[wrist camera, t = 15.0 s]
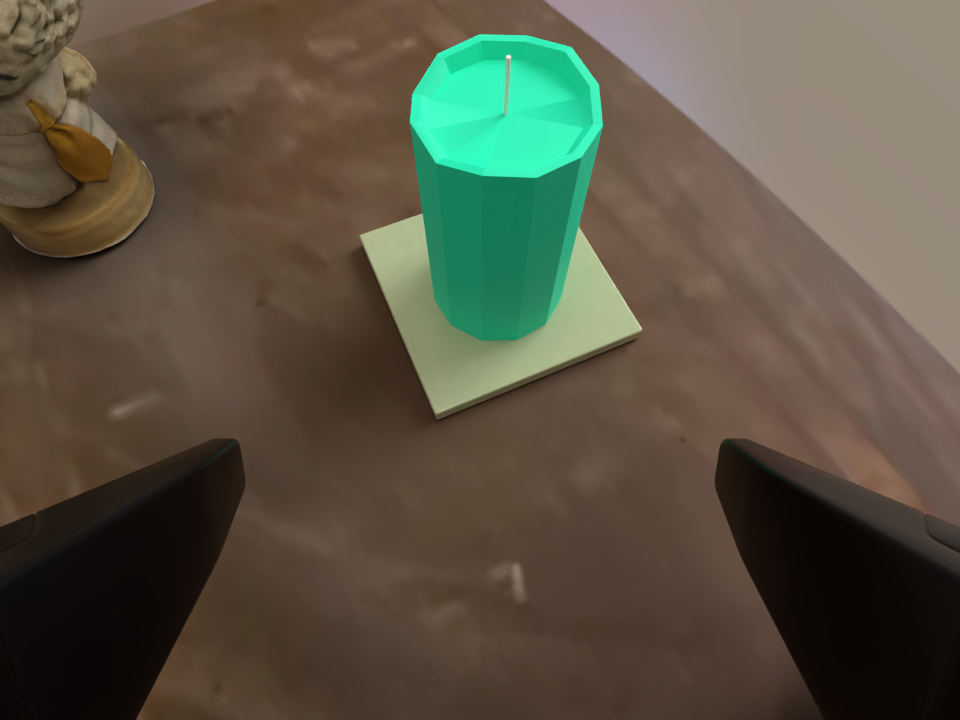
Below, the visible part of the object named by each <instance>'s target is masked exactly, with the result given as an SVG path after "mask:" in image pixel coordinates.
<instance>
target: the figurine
mask: <svg viewBox="0 0 960 720" xmlns="http://www.w3.org/2000/svg"><path fill="white" fill-rule="evenodd" d="M83 8H84V0H0V223H1V224H2V225H3V226H5V227H6V228H7V229H8V230H9V231H10V232H11V233H12V235H13V237H14V238H15V240H16V241H17V242H18V243H20V244H21V245H22V246H23V247H24V248H26V249H28V250H30V251H32V252H34V253H37V254H41V255H45V256H50V257H65V258H68V257H74V256H81V255H86V254H90V253H95V252H98V251H100V250H103V249H105V248H108V247H110V246H112V245H114V244H117V243H118V242H120V241H122V240H123V239H125V238H126V237H128V236H129V235H130V234H131V233H132V232H133V231H134V230H135V229H136V227H137V226H138V225H139V224H140V223H141V222H142V221H143V220H144V218H145V217H146V216H147V215H148V213H149V210H150V208H151V206H152V202H153V198H154V193H155V190H154V184H153V178H152V175H151V173H150V172H149V170H148V168H147V167H146V165H145V164H144V162H143V161H142V160H140V159H139V157H138V155H137V154H136V153H135V151H134V150H133V149H132V148H131V147H130V146H129V145H128V144H127V143H126V142H125V141H124V140H122V139H121V138H120V137H118V136H117V133H116V132H115V131H114V130H113V129H112V128H111V127H110V126H109V125H108V124H106V122H104V120H103V119H102V118H101V117H100V116H99V115H98V114H97V113H96V112H95V111H93V110H92V109H91V108H90V107H89V105H88V101H87V97H88V96H89V95H90V94H91V92H92V90H93V88H94V87H95V85H96V82H97V80H96V79H97V74H96V72H95V70H94V68H93V67H92V65H91V64H90V63H89V61H87V60H86V58H84V57H83V56H81V55H80V54H78V53H77V52H76V51H74V50H72V49H69V48H66V47H65V46H66V45H67V44H68V43H69V42H70V41H71V40H72V37H73V35H74V32H75V31H76V30H77V28H78V26H79V23H80V17H81V14H82V10H83Z"/></svg>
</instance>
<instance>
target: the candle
mask: <svg viewBox="0 0 960 720" xmlns="http://www.w3.org/2000/svg"><path fill="white" fill-rule="evenodd" d="M410 126H411V133H412V141H413V148H414V155H415V162H416V170H417V177H418V184H419V191H420V198H421V206H422V213H423V220H424V227H425V235H426V242H427V249H428V256H429V264H430V271H431V278H432V285H433V293H434V300H435V301H436V303H437V304H438V306H439V307H440V309H441V310H442V312H443V313H444V315H445V317H446V318H447V320H448V321H449V323H450V324H451V326H453V327H455V328H457V329H459V330H461V331H463V332H465V333H467V334H469V335H471V336H473V337H475V338H477V339H479V340H481V341H493V340H518V339H520V338H522V337H523V336H525V335H527V334H529V333H531V332H533V331H535V330H536V329H538V328H540V327H542V326H544V325H546V323H547V322H548V320H549V318H550V317H551V315H552V313H553V311H554V310H555V308H556V306H557V304H558V303H559V301H560V299H561V297H562V293H563V289H564V284H565V280H566V276H567V272H568V268H569V264H570V260H571V255H572V251H573V247H574V243H575V239H576V235H577V231H578V226H579V222H580V218H581V214H582V210H583V206H584V202H585V198H586V193H587V189H588V185H589V181H590V177H591V173H592V169H593V164H594V160H595V156H596V152H597V148H598V144H599V140H600V136H601V131H602V127H603V123H602V112H601V102H600V92H599V84H598V83H597V81H596V80H595V79H594V77H593V76H592V75H591V73H590V72H589V70H588V69H587V68H586V66H585V65H584V64H583V62H582V61H581V60H580V58H579V57H578V55H577V54H576V53H575V51H574V50H573V49H572V47H569V46H565V45H561V44H557V43H553V42H550V41H546V40H542V39H538V38H534V37H531V36H522V35H481V34H479V35H477V36H475V37H473V38H471V39H469V40H466V41H464V42H462V43H460V44H458V45H456V46H454V47H451V48H449V49H447V50H445V51H443V52H441V53H438V54H437V56H436V57H435V59H434V60H433V62H432V64H431V65H430V67H429V68H428V70H427V72H426V73H425V75H424V76H423V78H422V80H421V81H420V83H419V85H418V86H417V88H416V89H415V91H414V93H413V97H412V107H411V117H410Z"/></svg>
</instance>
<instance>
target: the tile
mask: <svg viewBox="0 0 960 720" xmlns="http://www.w3.org/2000/svg"><path fill="white" fill-rule="evenodd" d="M359 238H360V241H361V244H362V247H363V249H364V251H365V254H366V256H367V258H368V261H369V263H370V265H371V268H372V270H373V273H374V275H375V277H376V280H377V282H378V284H379V287H380V289H381V291H382V294H383V296H384V298H385V301H386V303H387V305H388V308H389V310H390V312H391V315H392V317H393V319H394V322H395V324H396V327H397V329H398V331H399V334H400V336H401V338H402V341H403V343H404V345H405V348H406V350H407V352H408V355H409V357H410V359H411V362H412V364H413V366H414V369H415V371H416V373H417V376H418V378H419V381H420V383H421V385H422V388H423V390H424V392H425V395H426V397H427V399H428V402H429V404H430V406H431V409H432V411H433V413H434V416H435V418H436V419H437V420H439V419H441V418H444V417H446V416H448V415H451V414H453V413H456V412H458V411H461V410H463V409H466V408H468V407H470V406H473V405H475V404H478V403H480V402H483V401H485V400H488V399H490V398H492V397H495V396H497V395H500V394H502V393H505V392H507V391H510V390H512V389H514V388H517V387H519V386H522V385H524V384H527V383H529V382H532V381H534V380H536V379H539V378H541V377H544V376H546V375H549V374H551V373H554V372H556V371H558V370H561V369H563V368H566V367H568V366H571V365H573V364H576V363H578V362H580V361H583V360H585V359H588V358H590V357H593V356H595V355H598V354H600V353H602V352H605V351H607V350H610V349H612V348H615V347H617V346H620V345H622V344H624V343H627V342H629V341H632V340H634V339H637V338H638V337H639V336H640V334H641V332H642V328H641V327H640V325H639V323H638V322H637V320H636V319H635V317H634V315H633V314H632V312H631V310H630V309H629V307H628V306H627V304H626V302H625V301H624V299H623V298H622V296H621V294H620V293H619V291H618V289H617V288H616V286H615V285H614V283H613V281H612V280H611V278H610V277H609V275H608V273H607V272H606V270H605V268H604V267H603V265H602V264H601V262H600V260H599V259H598V257H597V255H596V254H595V252H594V251H593V249H592V247H591V246H590V244H589V243H588V241H587V239H586V238H585V236H584V234H583V233H582V231H581V230H580V228H579V226H578V231H577V235H576V239H575V243H574V247H573V251H572V255H571V260H570V264H569V268H568V272H567V276H566V280H565V284H564V289H563V293H562V297H561V299H560V301H559V303H558V304H557V306H556V308H555V310H554V311H553V313H552V315H551V317H550V318H549V320H548V322H547V323H546V325H544V326H542V327H540V328H538V329H536V330H535V331H533V332H531V333H529V334H527V335H525V336H523V337H522V338H520V339H518V340H493V341H481V340H479V339H477V338H475V337H473V336H471V335H469V334H467V333H465V332H463V331H461V330H459V329H457V328H455V327H453V326H451V324H450V323H449V321H448V320H447V318H446V317H445V315H444V313H443V312H442V310H441V309H440V307H439V306H438V304H437V303H436V301H435V300H434V293H433V285H432V278H431V271H430V264H429V256H428V249H427V242H426V235H425V227H424V220H423V213H422V214H420V215H417V216H414V217H411V218H408V219H405V220H402V221H399V222H396V223H394V224H391V225H388V226H385V227H382V228H379V229H376V230H373V231H370V232H367V233H365V234H362V235H360V236H359Z"/></svg>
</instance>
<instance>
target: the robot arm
mask: <svg viewBox="0 0 960 720" xmlns="http://www.w3.org/2000/svg"><path fill="white" fill-rule="evenodd" d="M244 488H245V474H244V468H243V462H242V455H241V449H240V445H239V443H238V441H237V440H235V439H212V440H210V441H207V442H205V443H202V444H200V445H198V446H195V447H193V448H190V449H188V450H186V451H183V452H181V453H178V454H176V455H174V456H171V457H169V458H166V459H164V460H161V461H159V462H157V463H154V464H152V465H149V466H147V467H145V468H142V469H140V470H137V471H135V472H132V473H130V474H128V475H125V476H123V477H120V478H118V479H116V480H113V481H111V482H108V483H106V484H104V485H101V486H99V487H96V488H94V489H91V490H89V491H87V492H84V493H82V494H79V495H77V496H75V497H72V498H70V499H67V500H65V501H63V502H60V503H58V504H55V505H53V506H50V507H48V508H46V509H43V510H41V511H38V512H37V514H36V515H35V514H31V515H28V516H26V517H24V518H21V519H19V520H16V521H14V522H12V523H9V524H7V525H4V526H2V527H0V720H136V719H137V717H138V715H139V713H140V711H141V709H142V707H143V705H144V703H145V701H146V699H147V697H148V695H149V693H150V691H151V689H152V687H153V685H154V684H155V682H156V680H157V678H158V676H159V674H160V672H161V670H162V668H163V666H164V664H165V662H166V660H167V658H168V656H169V654H170V652H171V650H172V648H173V646H174V645H175V643H176V641H177V639H178V637H179V635H180V633H181V631H182V629H183V627H184V625H185V623H186V621H187V619H188V617H189V615H190V613H191V611H192V609H193V607H194V606H195V604H196V602H197V600H198V598H199V596H200V594H201V592H202V590H203V588H204V586H205V584H206V582H207V580H208V578H209V576H210V574H211V572H212V570H213V568H214V566H215V564H216V562H217V560H218V558H219V556H220V553H221V551H222V548H223V546H224V543H225V540H226V538H227V535H228V532H229V529H230V527H231V524H232V521H233V519H234V516H235V513H236V511H237V508H238V505H239V502H240V500H241V497H242V494H243V492H244ZM715 488H716V492H717V494H718V497H719V500H720V502H721V505H722V508H723V511H724V513H725V516H726V519H727V521H728V524H729V527H730V529H731V532H732V535H733V538H734V540H735V543H736V546H737V548H738V551H739V553H740V556H741V558H742V560H743V562H744V564H745V566H746V568H747V570H748V572H749V574H750V576H751V578H752V580H753V582H754V584H755V586H756V588H757V590H758V592H759V594H760V596H761V598H762V600H763V602H764V604H765V606H766V607H767V609H768V611H769V613H770V615H771V617H772V619H773V621H774V623H775V625H776V627H777V629H778V631H779V633H780V635H781V637H782V639H783V641H784V643H785V645H786V646H787V648H788V650H789V652H790V654H791V656H792V658H793V660H794V662H795V664H796V666H797V668H798V670H799V672H800V674H801V676H802V678H803V680H804V682H805V684H806V685H807V687H808V689H809V691H810V693H811V695H812V697H813V699H814V701H815V703H816V705H817V707H818V709H819V711H820V713H821V715H822V717H823V719H824V720H960V527H958V526H956V525H953V524H951V523H948V522H946V521H944V520H941V519H939V518H936V517H934V516H932V515H929V514H925V515H924V514H923V512H922V511H919V510H917V509H914V508H912V507H910V506H907V505H905V504H902V503H900V502H897V501H895V500H893V499H890V498H888V497H885V496H883V495H881V494H878V493H876V492H873V491H871V490H869V489H866V488H864V487H861V486H859V485H856V484H854V483H852V482H849V481H847V480H844V479H842V478H840V477H837V476H835V475H832V474H830V473H828V472H825V471H823V470H820V469H818V468H815V467H813V466H811V465H808V464H806V463H803V462H801V461H799V460H796V459H794V458H791V457H789V456H786V455H784V454H782V453H779V452H777V451H774V450H772V449H770V448H767V447H765V446H762V445H760V444H758V443H755V442H753V441H750V440H748V439H725V440H723V441H722V443H721V445H720V449H719V455H718V462H717V468H716V474H715Z"/></svg>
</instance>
